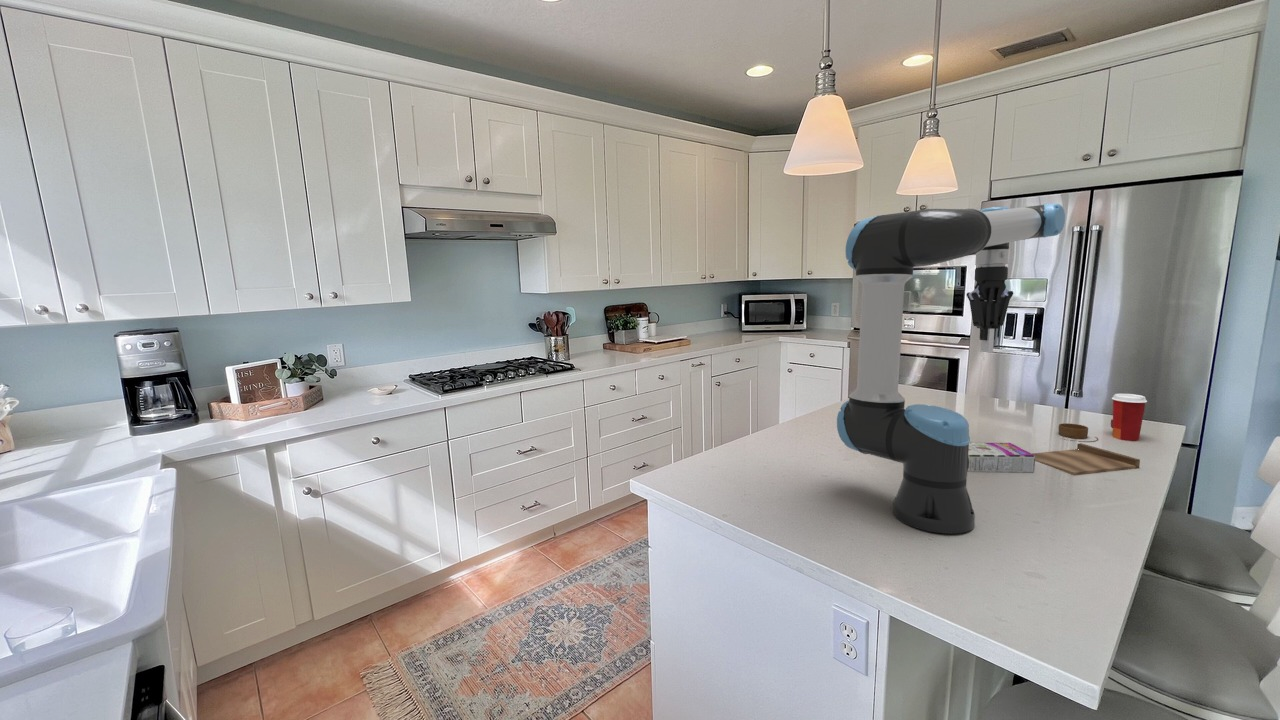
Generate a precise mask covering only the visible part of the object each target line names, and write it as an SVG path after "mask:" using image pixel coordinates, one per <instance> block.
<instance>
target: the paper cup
mask: <svg viewBox="0 0 1280 720" xmlns="http://www.w3.org/2000/svg"><path fill="white" fill-rule="evenodd" d="M1111 399H1112V419H1113V428H1112V437H1113V438H1114V439H1117V440H1121V441H1126V442H1138V441H1139V440H1140V435H1141V431H1142V424H1143V418H1144V414H1145V408H1146V403H1148V400H1147V399H1146V396H1144V395H1141V394H1134V393H1114V395H1113V396H1112V397H1111Z"/></svg>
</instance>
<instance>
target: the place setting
mask: <svg viewBox="0 0 1280 720" xmlns="http://www.w3.org/2000/svg"><path fill="white" fill-rule="evenodd" d="M1110 427H1111V428H1112V429H1113V418H1112V419H1111V420H1110ZM1088 433H1089V427H1088V426H1086V425H1084V424H1083V425H1082V424H1077V423H1069V422H1068V423H1064V422H1063V423H1059V424H1058V434H1059V436H1062V437H1065V438H1067V437H1068V438H1067V439H1069V440H1070V441H1069V442H1074V440H1077V441H1078V442H1079V443H1096V442H1098V441H1099V437H1097V436H1094V438H1095V439H1096V440H1089V441H1086V440H1083V439H1084V438H1085V439H1086V438H1087V437H1088ZM1065 438H1063V440H1065V441H1067V439H1065ZM1073 438H1074V440H1072V439H1073ZM1060 440H1062V438H1060Z"/></svg>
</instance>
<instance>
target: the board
mask: <svg viewBox="0 0 1280 720" xmlns="http://www.w3.org/2000/svg"><path fill="white" fill-rule="evenodd" d="M1078 449H1079V450H1078ZM1031 454H1033V455H1035V462H1038V463H1040V464H1042V465H1046V466H1048V467H1051V468H1053V469H1056V470H1059V471H1061V472H1064V473H1066V474H1069V475H1071V476H1082V475H1090V474H1100V473H1108V472H1109V473H1110V472H1118V471H1126V470H1136V469H1137V470H1138V469H1140V464H1141V459H1140V458H1135V457H1132V456H1130V455H1129V456H1128V455H1125V454H1121V453H1118V452H1114V451H1110V450H1107V449H1103V448H1099V447H1097V446H1092V445H1089V444H1085V443H1083V442H1079V443H1077V445H1076V449H1075V450H1074V448H1073V449H1064V450H1054V451H1044V452H1042V451H1041V452H1035V453H1031Z"/></svg>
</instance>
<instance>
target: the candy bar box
mask: <svg viewBox="0 0 1280 720" xmlns="http://www.w3.org/2000/svg"><path fill="white" fill-rule="evenodd" d="M1035 463H1036V461H1035V455H1033V454H1032V453H1031V452H1030V451H1027V450H1025V449H1023V448H1021V447H1019V446H1017V445H1015V444H1013V443H1011V442H969V451H968V466H967V473H968V472H971V473H972V472H974V473H975V472H976V473H979V472H980V473H1031V474H1033V473H1034V472H1035V467H1036V465H1035Z"/></svg>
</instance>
